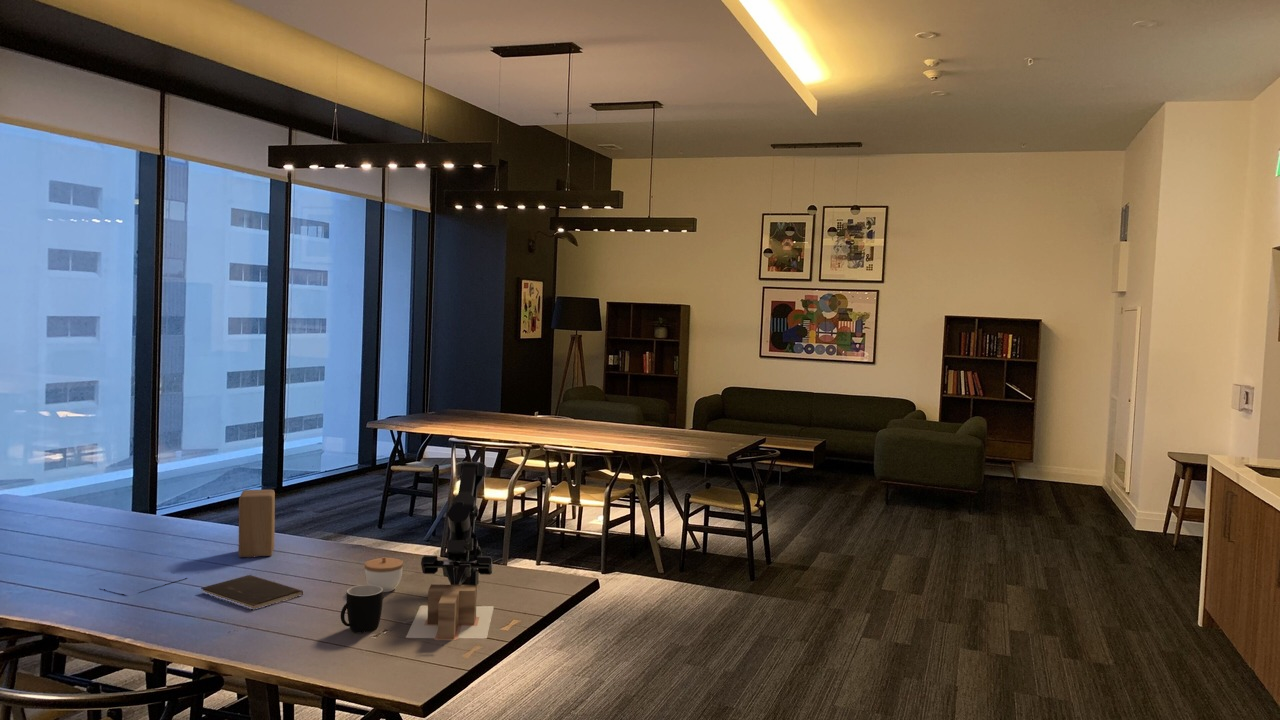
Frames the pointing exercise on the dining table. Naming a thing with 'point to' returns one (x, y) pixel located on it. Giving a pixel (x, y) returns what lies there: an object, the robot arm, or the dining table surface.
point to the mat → (463, 631)
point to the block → (256, 523)
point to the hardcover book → (252, 591)
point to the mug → (363, 608)
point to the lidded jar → (384, 572)
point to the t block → (451, 607)
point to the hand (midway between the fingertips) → (454, 593)
